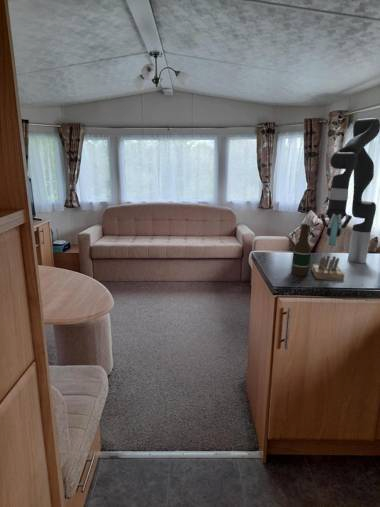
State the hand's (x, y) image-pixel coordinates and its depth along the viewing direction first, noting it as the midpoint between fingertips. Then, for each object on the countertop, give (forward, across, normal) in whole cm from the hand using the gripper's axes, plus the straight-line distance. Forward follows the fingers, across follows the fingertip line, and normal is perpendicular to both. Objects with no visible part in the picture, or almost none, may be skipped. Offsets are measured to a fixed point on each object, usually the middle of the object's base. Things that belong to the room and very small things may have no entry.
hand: (332, 236), depth 156 cm
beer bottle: (+20, +13, +1) cm, 23 cm away
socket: (+19, 0, -1) cm, 19 cm away
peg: (+4, 0, 0) cm, 4 cm away
